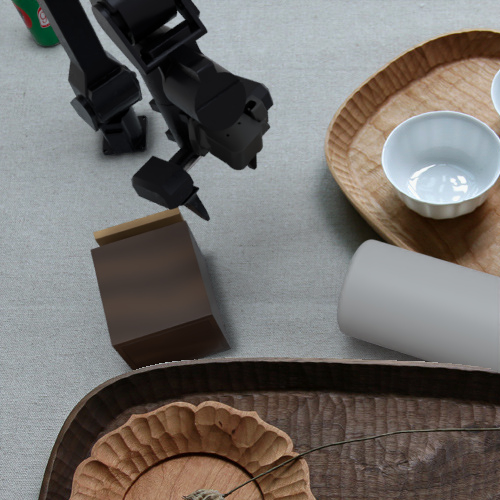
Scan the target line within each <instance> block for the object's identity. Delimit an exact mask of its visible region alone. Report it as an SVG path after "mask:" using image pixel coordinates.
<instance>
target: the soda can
mask: <svg viewBox="0 0 500 500" xmlns="http://www.w3.org/2000/svg"><path fill="white" fill-rule="evenodd" d="M10 1H11V3H12V4H13V6H14V8H15V9H16V11H17V13H18V15H19V16H20V18H21V20H22V21H23V23H24V25H25V27H26V28H27V30H28V32H29V33H30V35H31V37H32V38H33V41H34V42H35V43H36V44H37V45H40V46H43V47H53V46H56V45H57V44H59V43H60V41H59V39H58V37H57V36H56V34H55V32H54V30H53V28H52V27H51V25H50V23H49V21H48V19H47V18H46V16H45V14H44V12H43V11H42V9H41V7H40V5H39V3H38V2H37V0H10Z"/></svg>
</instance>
